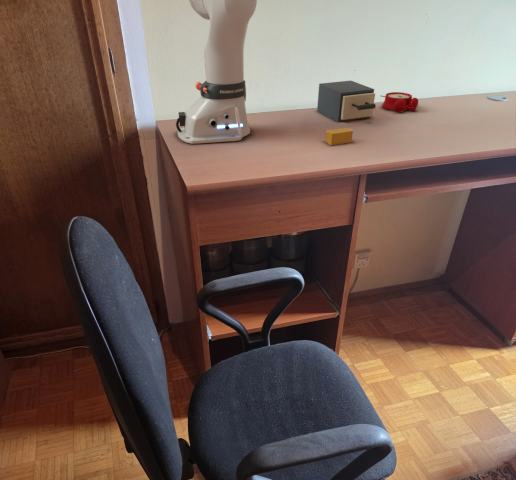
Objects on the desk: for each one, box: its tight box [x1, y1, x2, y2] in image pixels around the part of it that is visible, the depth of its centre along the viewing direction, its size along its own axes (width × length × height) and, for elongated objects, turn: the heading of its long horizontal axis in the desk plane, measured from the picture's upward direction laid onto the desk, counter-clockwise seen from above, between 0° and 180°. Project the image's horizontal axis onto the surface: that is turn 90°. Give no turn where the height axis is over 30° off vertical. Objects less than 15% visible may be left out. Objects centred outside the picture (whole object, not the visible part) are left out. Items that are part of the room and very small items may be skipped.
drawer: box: [340, 92, 376, 120], centre depth 149 cm, size 18×11×7 cm, turn 23°
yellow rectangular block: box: [324, 127, 354, 146], centre depth 132 cm, size 7×3×3 cm, turn 113°
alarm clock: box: [379, 91, 419, 114], centre depth 159 cm, size 10×6×15 cm
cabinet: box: [316, 80, 375, 123], centre depth 153 cm, size 15×13×9 cm
